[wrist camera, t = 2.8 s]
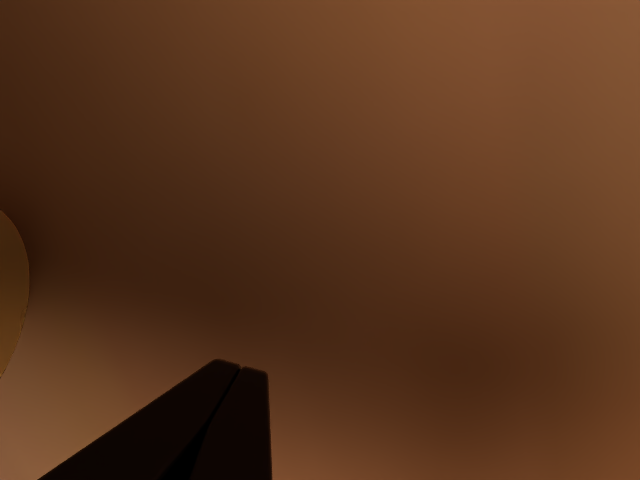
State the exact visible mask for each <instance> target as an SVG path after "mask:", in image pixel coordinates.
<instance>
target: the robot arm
mask: <svg viewBox="0 0 640 480" xmlns="http://www.w3.org/2000/svg"><path fill="white" fill-rule="evenodd" d="M38 480H272V458H271V434H270V409H269V384H268V374H267V373H266V372H265V371H261V370H258V369H254V368H251V367H247V366H245V367H243V368H241V367H240V365H239V364H236V363H233V362H229V361H225V360H222V359H215V360H213V361H211V362H210V363H208V364H207V365H205V366H204V367H202V368H201V369H199V370H198V371H196V372H195V373H193V374H192V375H191V376H189V377H188V378H186V379H185V380H183V381H182V382H180V383H179V384H177V385H176V386H174V387H173V388H171V389H170V390H168V391H167V392H166V393H164V394H163V395H161V396H160V397H158V398H157V399H155V400H154V401H152V402H151V403H149V404H148V405H146V406H145V407H143V408H142V409H141V410H139V411H138V412H136V413H135V414H133V415H132V416H130V417H129V418H127V419H126V420H124V421H123V422H121V423H120V424H118V425H117V426H116V427H114V428H113V429H111V430H110V431H108V432H107V433H105V434H104V435H102V436H101V437H99V438H98V439H96V440H95V441H93V442H92V443H91V444H89V445H88V446H86V447H85V448H83V449H82V450H80V451H79V452H77V453H76V454H74V455H73V456H71V457H70V458H68V459H67V460H66V461H64V462H63V463H61V464H60V465H58V466H57V467H55V468H54V469H52V470H51V471H49V472H48V473H46V474H45V475H44V476H42V477H41V478H39V479H38Z"/></svg>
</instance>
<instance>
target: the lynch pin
mask: <svg viewBox="0 0 640 480" xmlns="http://www.w3.org/2000/svg"><path fill="white" fill-rule="evenodd" d="M29 286H30V274H29V263H28V257H27V252H26V249H25V246H24V243H23V240H22V238H21V236H20V234H19V232H18V230H17V228H16V227H15V225H14V224H13V222H12V221H11V220H10V219H9V218H8V217H7V216H6V215H5V214H4V213H3V212H2V211H1V210H0V378H1V376H2V374H3V372H4V370H5V369H6V367H7V365H8V363H9V361H10V358H11V356H12V354H13V352H14V350H15V347H16V344H17V342H18V339H19V337H20V333H21V330H22V327H23V323H24V320H25V315H26V311H27V306H28V298H29Z"/></svg>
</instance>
